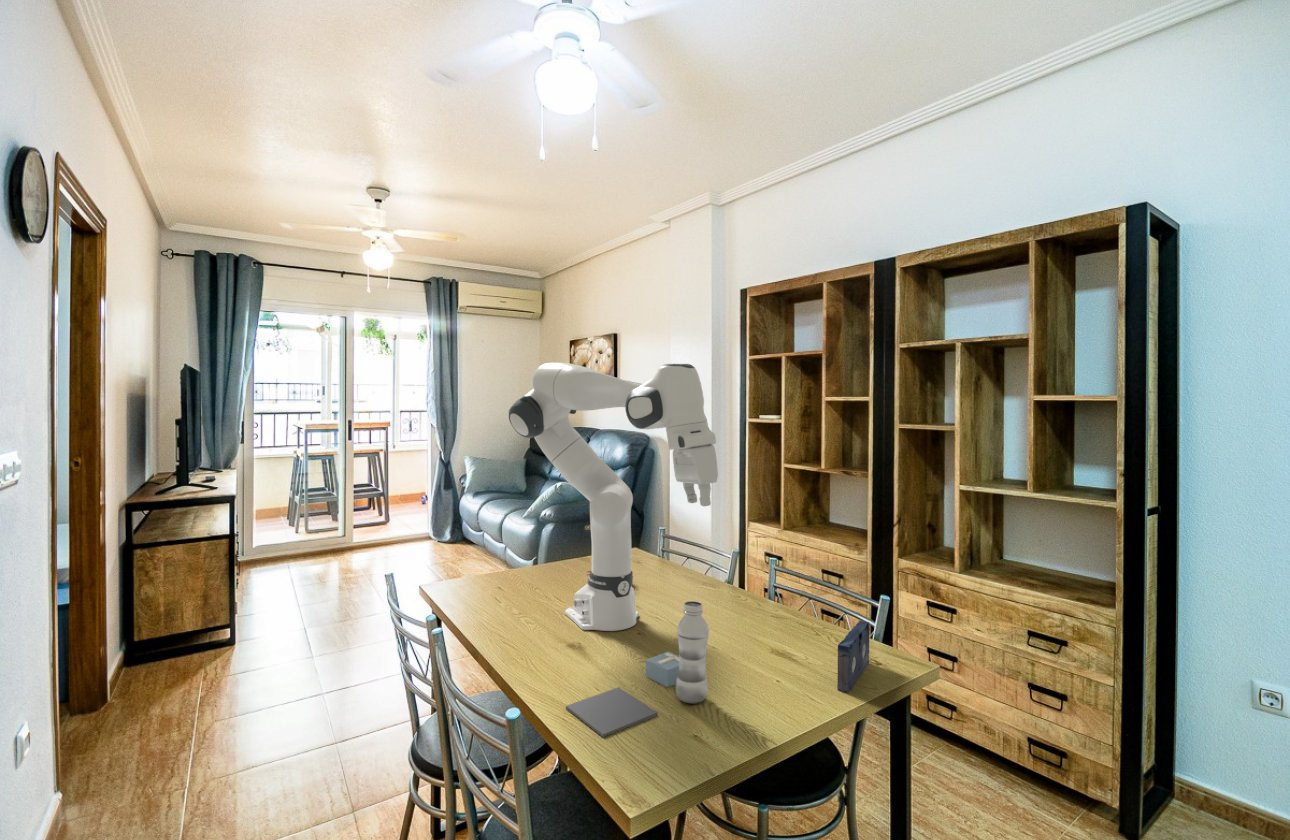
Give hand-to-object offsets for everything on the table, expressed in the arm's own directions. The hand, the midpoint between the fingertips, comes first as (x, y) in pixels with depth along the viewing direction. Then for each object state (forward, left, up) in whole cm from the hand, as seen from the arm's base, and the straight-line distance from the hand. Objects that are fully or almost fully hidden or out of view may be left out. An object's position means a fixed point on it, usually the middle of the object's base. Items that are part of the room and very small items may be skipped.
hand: (699, 504), depth 125 cm
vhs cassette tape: (+15, +35, -41) cm, 55 cm away
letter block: (-10, +1, -41) cm, 42 cm away
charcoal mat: (-5, -18, -40) cm, 44 cm away
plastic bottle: (+1, -2, -40) cm, 40 cm away
